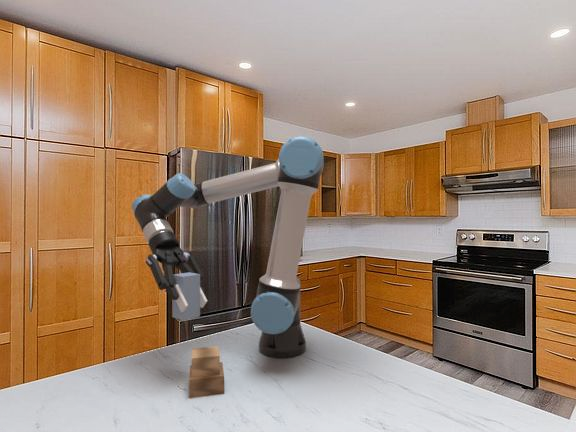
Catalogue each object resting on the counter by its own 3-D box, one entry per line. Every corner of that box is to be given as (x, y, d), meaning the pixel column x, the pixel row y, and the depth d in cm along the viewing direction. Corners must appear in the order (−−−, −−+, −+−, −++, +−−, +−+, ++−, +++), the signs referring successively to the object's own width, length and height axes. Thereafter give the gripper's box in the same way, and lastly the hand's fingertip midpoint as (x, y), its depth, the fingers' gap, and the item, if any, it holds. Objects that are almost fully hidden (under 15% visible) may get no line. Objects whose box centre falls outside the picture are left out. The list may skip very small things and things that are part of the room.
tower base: (222, 379, 88) (222, 362, 88) (224, 394, 80) (224, 375, 80) (190, 383, 86) (190, 365, 86) (189, 399, 78) (189, 379, 78)
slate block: (189, 313, 91) (189, 272, 91) (200, 316, 88) (200, 274, 88) (172, 317, 87) (172, 274, 87) (183, 320, 84) (183, 276, 84)
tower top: (218, 363, 87) (218, 345, 87) (219, 374, 81) (219, 355, 81) (192, 365, 86) (192, 348, 86) (191, 377, 79) (191, 358, 79)
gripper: (184, 245, 104) (217, 308, 94) (125, 250, 91) (155, 323, 80) (194, 229, 101) (229, 291, 90) (134, 230, 87) (167, 304, 77)
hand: (194, 306), depth 85 cm, fingers closed on slate block, 5 cm apart
